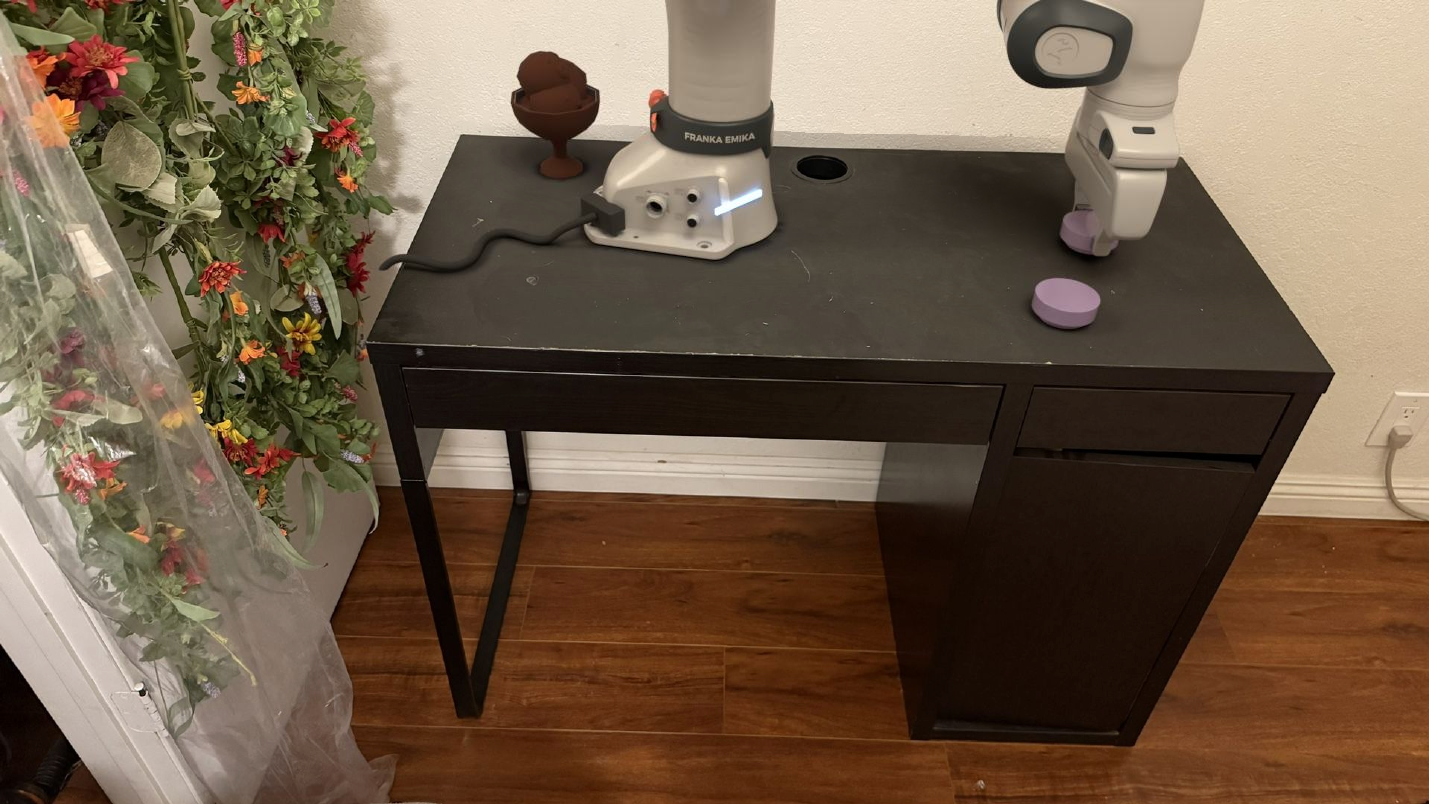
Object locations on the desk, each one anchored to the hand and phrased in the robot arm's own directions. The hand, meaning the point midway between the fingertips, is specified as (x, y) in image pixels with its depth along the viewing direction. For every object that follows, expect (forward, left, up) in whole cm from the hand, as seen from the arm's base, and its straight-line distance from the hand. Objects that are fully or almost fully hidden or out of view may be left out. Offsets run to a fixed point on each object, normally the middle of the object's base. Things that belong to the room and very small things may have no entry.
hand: (1089, 235), depth 112 cm
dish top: (0, 0, -1) cm, 1 cm away
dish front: (-6, -14, -2) cm, 15 cm away
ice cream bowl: (-62, +16, -2) cm, 64 cm away
